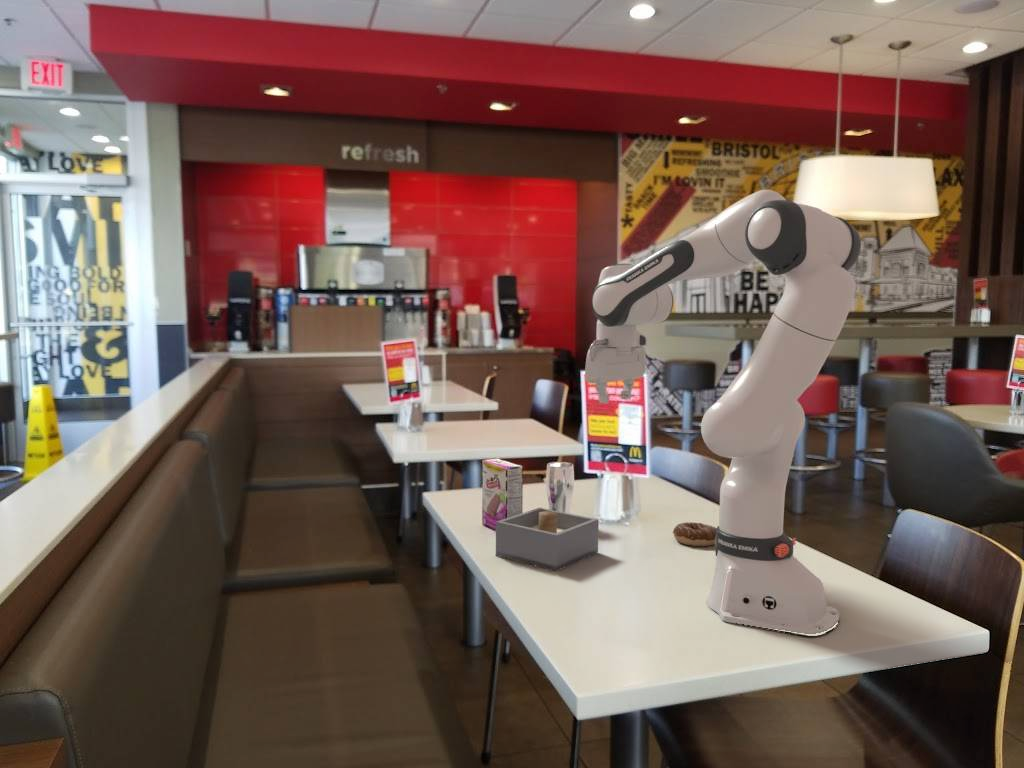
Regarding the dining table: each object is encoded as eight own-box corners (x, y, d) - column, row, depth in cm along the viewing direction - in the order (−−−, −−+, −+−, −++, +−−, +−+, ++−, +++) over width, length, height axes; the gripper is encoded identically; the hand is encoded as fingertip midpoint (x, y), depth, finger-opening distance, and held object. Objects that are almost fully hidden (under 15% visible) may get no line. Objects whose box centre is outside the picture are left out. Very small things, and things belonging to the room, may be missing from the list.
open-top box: (597, 552, 176) (598, 519, 175) (556, 571, 163) (556, 535, 163) (539, 539, 186) (539, 507, 185) (495, 555, 173) (495, 521, 172)
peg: (559, 549, 175) (560, 513, 174) (549, 553, 172) (550, 516, 171) (544, 545, 177) (545, 510, 176) (534, 549, 174) (535, 513, 173)
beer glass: (571, 528, 195) (572, 467, 194) (543, 526, 196) (544, 466, 195) (574, 520, 202) (575, 462, 200) (547, 519, 203) (548, 461, 202)
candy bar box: (480, 525, 197) (481, 459, 195) (497, 522, 200) (498, 457, 198) (506, 536, 188) (506, 467, 186) (523, 533, 191) (524, 465, 189)
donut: (671, 546, 181) (671, 529, 181) (674, 533, 192) (674, 517, 191) (719, 550, 179) (720, 533, 178) (720, 537, 189) (720, 521, 188)
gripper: (603, 340, 166) (602, 406, 167) (651, 338, 182) (649, 398, 183) (578, 339, 170) (577, 404, 171) (626, 337, 186) (625, 396, 187)
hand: (615, 401), depth 177 cm, fingers open, 8 cm apart
